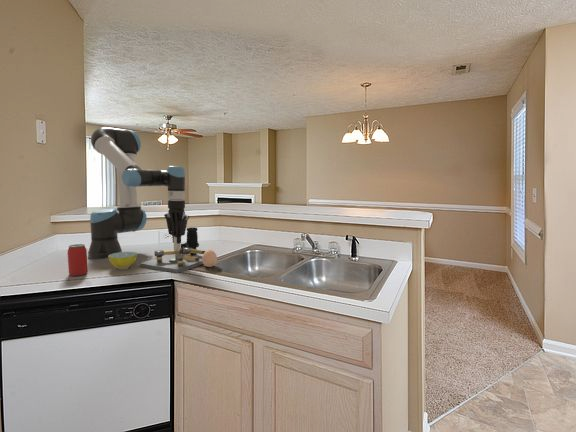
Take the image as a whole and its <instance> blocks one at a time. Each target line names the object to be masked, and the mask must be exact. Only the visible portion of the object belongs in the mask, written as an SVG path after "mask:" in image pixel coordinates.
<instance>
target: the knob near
mask: <svg viewBox="0 0 576 432" xmlns="http://www.w3.org/2000/svg"><path fill="white" fill-rule="evenodd" d="M182 253H183V251H182V250H174V249H173V250H162V249H161V250H160V249H159V250H154V254H153V255H154V257H156V259H157V262H162V257H164V256H167V255H176V254H182Z"/></svg>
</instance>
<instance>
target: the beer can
mask: <svg viewBox="0 0 576 432" xmlns="http://www.w3.org/2000/svg"><path fill="white" fill-rule="evenodd" d="M85 245H86V244H83V243H79V244H70V245H69V246H68V249H67V267H68V274H69V276H70V277H80V276H85V275H86V274H88V272H89V271H88V251H87V248H86V246H85Z"/></svg>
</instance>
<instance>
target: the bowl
mask: <svg viewBox="0 0 576 432" xmlns="http://www.w3.org/2000/svg"><path fill="white" fill-rule="evenodd" d="M137 256H138V253H137V252H135V251H122V252H119V253H114V254H111V255H109V256H108V258H107V259H108V260H109V263H110V264H111V265H112V266H114V267H116V268H117V269H118V270H121V271H122V270H128V269H129V268H130V266H132V265H133V264H134V263H135V262H136V260H137V258H138V257H137Z"/></svg>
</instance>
